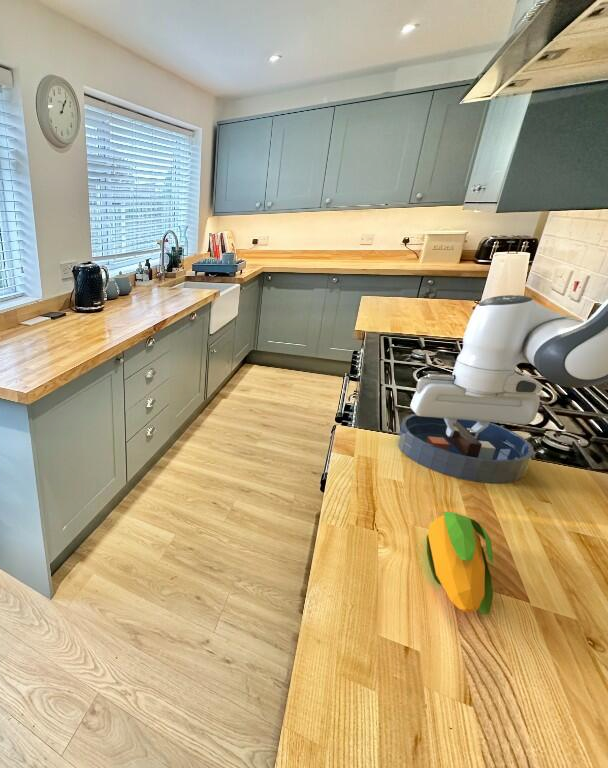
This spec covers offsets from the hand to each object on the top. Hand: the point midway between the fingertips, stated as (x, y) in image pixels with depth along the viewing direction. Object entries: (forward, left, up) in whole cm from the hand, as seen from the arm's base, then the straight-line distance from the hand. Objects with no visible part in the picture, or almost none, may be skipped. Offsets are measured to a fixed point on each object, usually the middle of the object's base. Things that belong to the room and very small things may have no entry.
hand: (460, 436), depth 89 cm
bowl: (0, 0, -5) cm, 5 cm away
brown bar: (0, +1, -2) cm, 2 cm away
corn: (+15, +38, -5) cm, 41 cm away
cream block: (-4, 0, -4) cm, 6 cm away
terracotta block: (+4, 0, -4) cm, 6 cm away
